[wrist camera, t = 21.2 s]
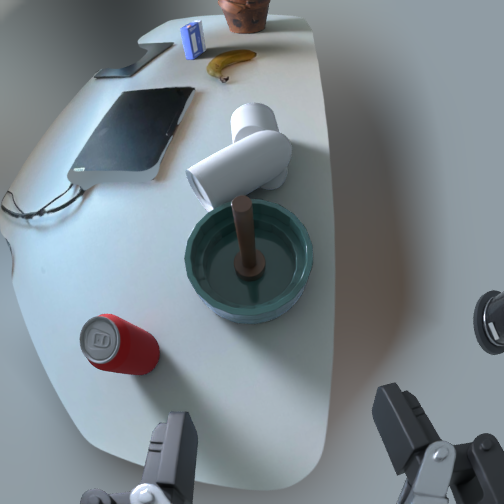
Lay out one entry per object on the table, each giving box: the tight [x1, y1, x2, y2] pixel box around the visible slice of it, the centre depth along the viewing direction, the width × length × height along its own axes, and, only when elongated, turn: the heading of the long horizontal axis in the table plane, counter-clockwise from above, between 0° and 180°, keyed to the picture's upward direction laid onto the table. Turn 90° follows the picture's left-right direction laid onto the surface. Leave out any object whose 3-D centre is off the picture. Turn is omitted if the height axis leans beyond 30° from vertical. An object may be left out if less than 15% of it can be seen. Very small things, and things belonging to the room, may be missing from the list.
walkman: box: [180, 20, 206, 60], centre depth 69 cm, size 8×3×12 cm, turn 156°
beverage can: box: [80, 314, 160, 375], centre depth 33 cm, size 7×7×12 cm
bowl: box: [184, 199, 313, 324], centre depth 40 cm, size 17×17×6 cm
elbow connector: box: [186, 103, 292, 212], centre depth 47 cm, size 18×11×20 cm
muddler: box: [231, 195, 265, 281], centre depth 35 cm, size 4×4×16 cm
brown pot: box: [218, 0, 270, 33], centre depth 75 cm, size 18×20×18 cm
